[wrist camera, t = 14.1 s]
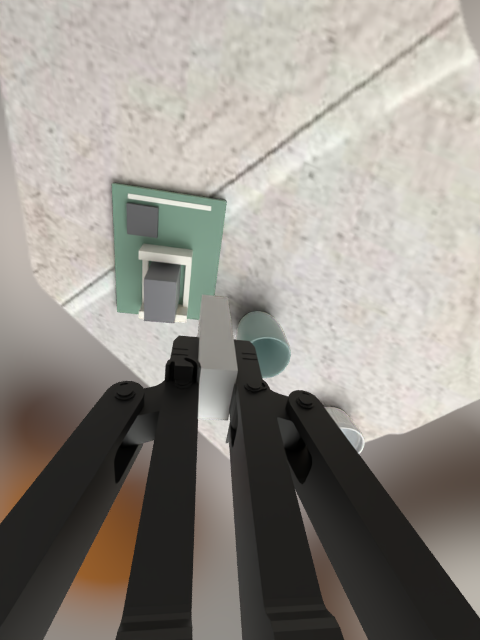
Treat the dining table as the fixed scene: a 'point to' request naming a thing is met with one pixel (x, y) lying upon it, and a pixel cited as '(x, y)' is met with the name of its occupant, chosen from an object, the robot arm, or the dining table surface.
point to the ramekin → (347, 427)
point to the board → (165, 244)
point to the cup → (265, 341)
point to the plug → (161, 292)
